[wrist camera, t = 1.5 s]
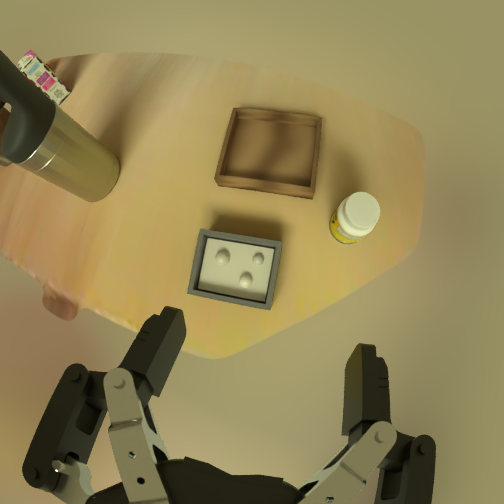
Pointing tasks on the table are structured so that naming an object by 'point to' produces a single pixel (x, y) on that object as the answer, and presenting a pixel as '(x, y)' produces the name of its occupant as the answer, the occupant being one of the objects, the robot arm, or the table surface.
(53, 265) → the table surface
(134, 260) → the table surface
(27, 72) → the candy bar box
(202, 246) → the bin
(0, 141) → the plant pot
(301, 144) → the walnut tray
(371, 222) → the supplement bottle
